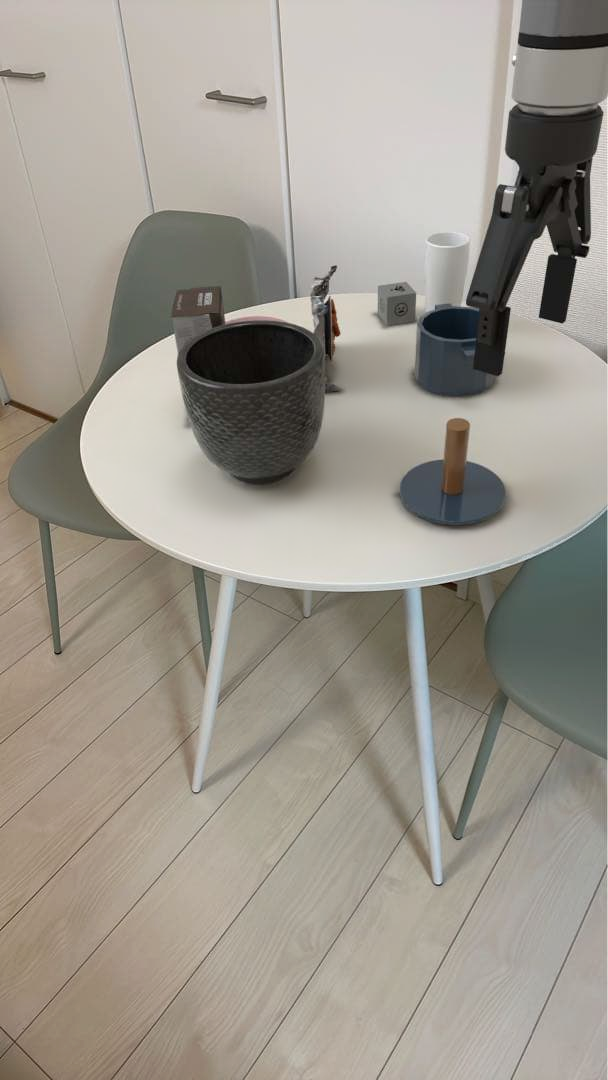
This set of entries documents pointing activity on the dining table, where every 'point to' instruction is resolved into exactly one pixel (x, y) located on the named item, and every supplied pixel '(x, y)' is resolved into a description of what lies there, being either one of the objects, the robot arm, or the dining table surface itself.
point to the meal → (325, 318)
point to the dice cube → (396, 303)
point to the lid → (453, 484)
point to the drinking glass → (445, 268)
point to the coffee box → (196, 312)
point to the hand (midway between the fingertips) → (521, 344)
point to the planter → (254, 396)
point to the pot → (449, 352)
